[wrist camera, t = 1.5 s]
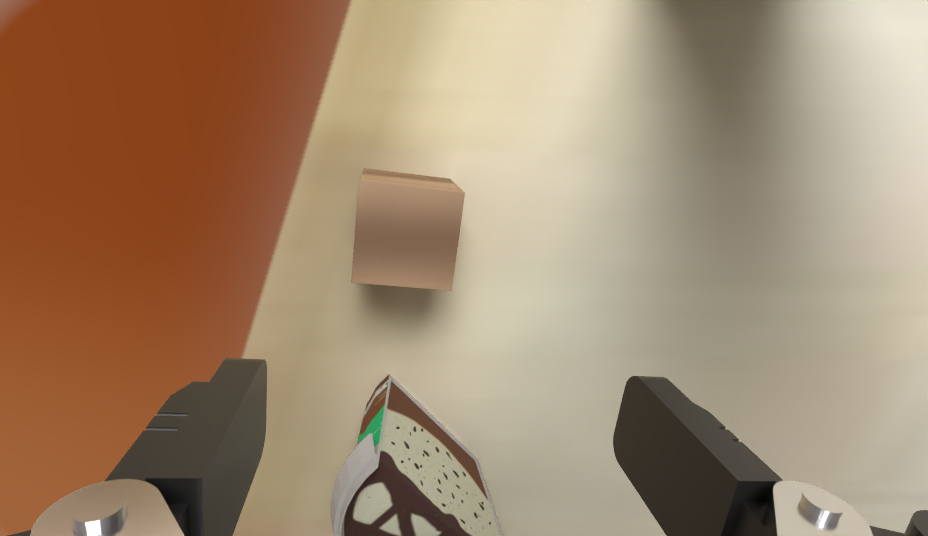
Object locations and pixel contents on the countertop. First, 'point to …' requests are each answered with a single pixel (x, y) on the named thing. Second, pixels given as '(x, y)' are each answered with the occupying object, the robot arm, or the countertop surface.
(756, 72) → the countertop surface
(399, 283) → the walnut block
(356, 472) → the food container
